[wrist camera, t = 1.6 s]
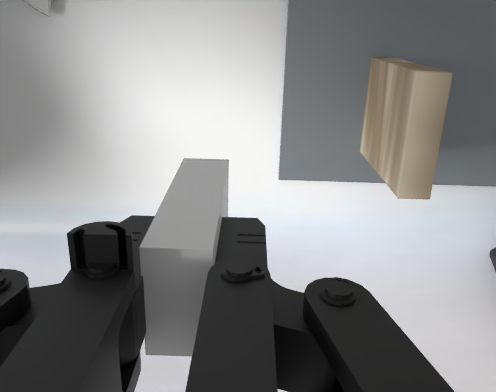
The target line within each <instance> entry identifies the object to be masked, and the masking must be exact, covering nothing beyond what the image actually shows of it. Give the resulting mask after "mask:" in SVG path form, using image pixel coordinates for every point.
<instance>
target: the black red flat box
mask: <svg viewBox="0 0 496 392" xmlns="http://www.w3.org/2000/svg"><path fill="white" fill-rule="evenodd" d="M490 257H491V260H492V263H493V266H494V269H495V271H496V248H494V249H492V250H491V251H490Z"/></svg>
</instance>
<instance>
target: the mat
mask: <svg viewBox="0 0 496 392" xmlns="http://www.w3.org/2000/svg"><path fill="white" fill-rule="evenodd" d="M371 57H384V58H398V59H402V60H406V61H410V62H414V63H417V64H421V65H425V66H429V67H433V68H436V69H440V70H444V71H448V72H451V73H453V75H452V80H451V86H450V91H449V97H448V102H447V107H446V113H445V118H444V124H443V129H442V135H441V140H440V146H439V151H438V157H437V162H436V167H435V173H434V178H433V184H434V185H466V186H496V0H289V5H288V23H287V40H286V58H285V76H284V93H283V111H282V128H281V146H280V163H279V180H306V181H338V182H370V183H385V182H384V180H383V179H382V178H381V177H380V176H379V174H378V173H377V172H376V171H375V170H374V168H373V167H372V166H371V165H370V163H369V162H368V161H367V160H366V159H365V157H364V156H363V155H362V154H361V152H360V145H361V137H362V129H363V120H364V112H365V104H366V95H367V87H368V79H369V71H370V62H371Z"/></svg>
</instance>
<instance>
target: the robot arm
mask: <svg viewBox="0 0 496 392" xmlns="http://www.w3.org/2000/svg"><path fill="white" fill-rule="evenodd" d="M228 167H229V160H221V159H190V158H184V159H183V161H182V163H181V165H180V167H179V169H178V171H177V173H176V175H175V177H174V179H173V181H172V183H171V185H170V187H169V189H168V191H167V193H166V195H165V197H164V199H163V201H162V203H161V205H160V207H159V209H158V211H157V213H156V215H155V216H130V217H129V218H127V219H125V220H124V221H122V222H120V223H118V222H110V221H106V222H94V223H89V224H84V225H81V226H79V227H76V228H74V229H72V230H71V231H70V232H68V233H67V238H68V246H69V255H70V263H71V270H70V271H69V273H68V274H67V276H66V277H65V278H64V280H63V281H62V282H61V283H59V284H54V285H48V286H41V287H34V288H29V281H28V277H27V276H26V275H25V274H24V273H23V272H20V271H17V270H11V269H0V392H134V390H135V387H136V384H137V381H138V377H139V374H140V371H141V358H140V349H141V346H142V343H143V340H144V337H145V350H146V355H168V356H192V360H191V365H190V370H189V376H188V381H187V387H186V392H277V389H281V390H284V391H288V392H454V391H453V389H452V388H451V387H450V386H449V385H448V384H447V382H446V381H445V380H444V379H443V378H442V376H441V375H440V374H439V373H438V372H437V371H436V369H435V368H434V367H433V366H432V365H431V364H430V362H429V361H428V360H427V359H426V358H425V357H424V355H423V354H422V353H421V352H420V351H419V350H418V348H417V347H416V346H415V345H414V344H413V342H412V341H411V340H410V339H409V338H408V337H407V335H406V334H405V333H404V332H403V331H402V330H401V328H400V327H399V326H398V325H397V324H396V323H395V321H394V320H393V319H392V318H391V317H390V316H389V314H388V313H387V312H386V311H385V310H384V309H383V307H382V306H381V305H380V304H379V303H378V301H377V300H376V299H375V298H374V297H373V296H372V294H371V293H370V292H369V291H368V290H366V289H365V288H364V287H363V286H361V285H359V284H357V283H355V282H353V281H350V280H347V279H344V278H343V279H342V278H337V277H335V278H322V279H318V280H315V281H313V282H311V283H310V284H308V285H307V287H306V289H305V293H302V292H298V291H294V290H290V289H287V288H284V287H282V286H280V285H278V284H277V283H276V282H274V281H273V280H272V279H271V277H270V273H269V271H268V268H267V251H266V234H265V225H264V224H263V223H262V222H261V221H260V220H259V219H258V218H237V217H228Z"/></svg>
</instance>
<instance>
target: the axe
mask: <svg viewBox="0 0 496 392" xmlns="http://www.w3.org/2000/svg"><path fill="white" fill-rule="evenodd" d="M24 1H26V2H27V3H28V4H29V5H31V6H32V7H34V8H35V9H37V10H38V11H40V12H42V13H44V14H45V15H47V16H49V17H50V9H51V1H52V0H24Z"/></svg>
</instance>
